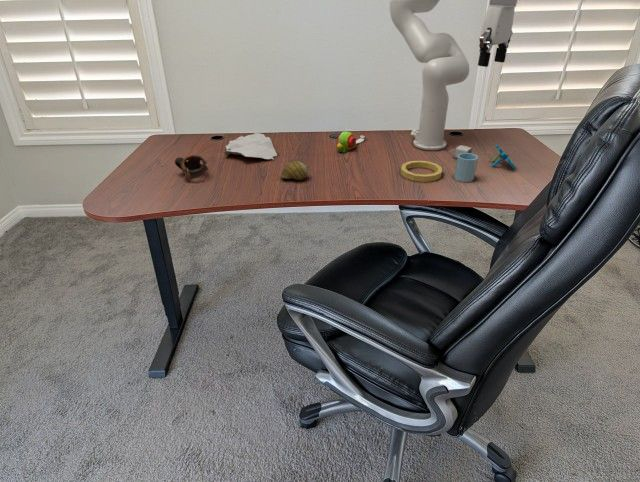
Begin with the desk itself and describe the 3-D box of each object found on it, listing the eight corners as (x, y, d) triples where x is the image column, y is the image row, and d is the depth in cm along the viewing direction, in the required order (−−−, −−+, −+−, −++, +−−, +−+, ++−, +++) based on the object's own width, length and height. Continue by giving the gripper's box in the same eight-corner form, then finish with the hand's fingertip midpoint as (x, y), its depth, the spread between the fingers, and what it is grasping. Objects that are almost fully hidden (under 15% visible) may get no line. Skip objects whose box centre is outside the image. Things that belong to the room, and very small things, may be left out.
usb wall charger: (465, 161, 152) (467, 150, 150) (447, 156, 156) (449, 146, 154) (470, 158, 154) (472, 147, 152) (453, 153, 158) (454, 143, 156)
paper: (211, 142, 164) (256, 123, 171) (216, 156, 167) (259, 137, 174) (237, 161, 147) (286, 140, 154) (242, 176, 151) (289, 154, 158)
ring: (398, 179, 139) (399, 173, 138) (403, 164, 150) (404, 159, 149) (439, 183, 136) (440, 178, 135) (442, 168, 147) (443, 162, 146)
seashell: (284, 191, 142) (283, 181, 135) (277, 173, 144) (276, 162, 136) (311, 182, 144) (312, 171, 136) (304, 164, 146) (304, 153, 138)
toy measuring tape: (330, 152, 161) (330, 135, 158) (357, 137, 175) (357, 121, 171) (345, 155, 158) (345, 138, 155) (370, 140, 171) (371, 124, 168)
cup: (450, 178, 140) (454, 156, 136) (460, 172, 143) (464, 151, 139) (467, 183, 136) (471, 161, 132) (477, 178, 139) (481, 156, 135)
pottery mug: (214, 171, 148) (211, 156, 141) (203, 192, 144) (199, 178, 136) (182, 160, 149) (177, 145, 141) (169, 181, 144) (164, 166, 137)
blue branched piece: (520, 169, 141) (501, 146, 139) (504, 180, 143) (485, 158, 142) (513, 161, 151) (495, 139, 149) (498, 171, 153) (481, 151, 151)
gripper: (505, -1, 130) (494, 59, 139) (475, 2, 120) (465, 66, 130) (529, -1, 125) (516, 61, 135) (500, 3, 116) (487, 69, 125)
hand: (491, 64), depth 132 cm, fingers open, 9 cm apart
